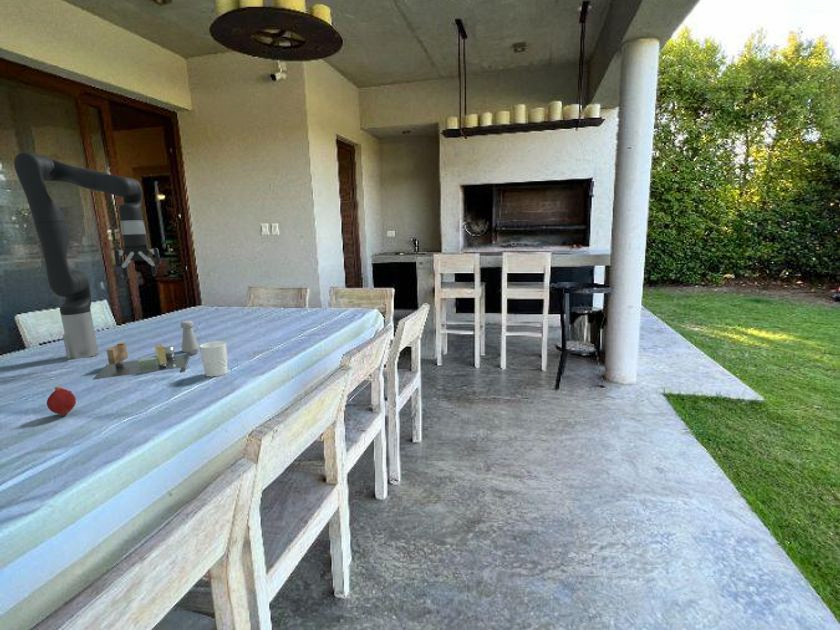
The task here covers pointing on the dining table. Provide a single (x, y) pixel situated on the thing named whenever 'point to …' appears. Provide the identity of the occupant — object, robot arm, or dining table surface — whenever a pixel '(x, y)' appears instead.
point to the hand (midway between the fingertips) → (141, 276)
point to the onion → (61, 401)
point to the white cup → (214, 358)
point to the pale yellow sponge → (160, 355)
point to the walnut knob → (117, 354)
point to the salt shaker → (189, 338)
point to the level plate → (145, 365)
